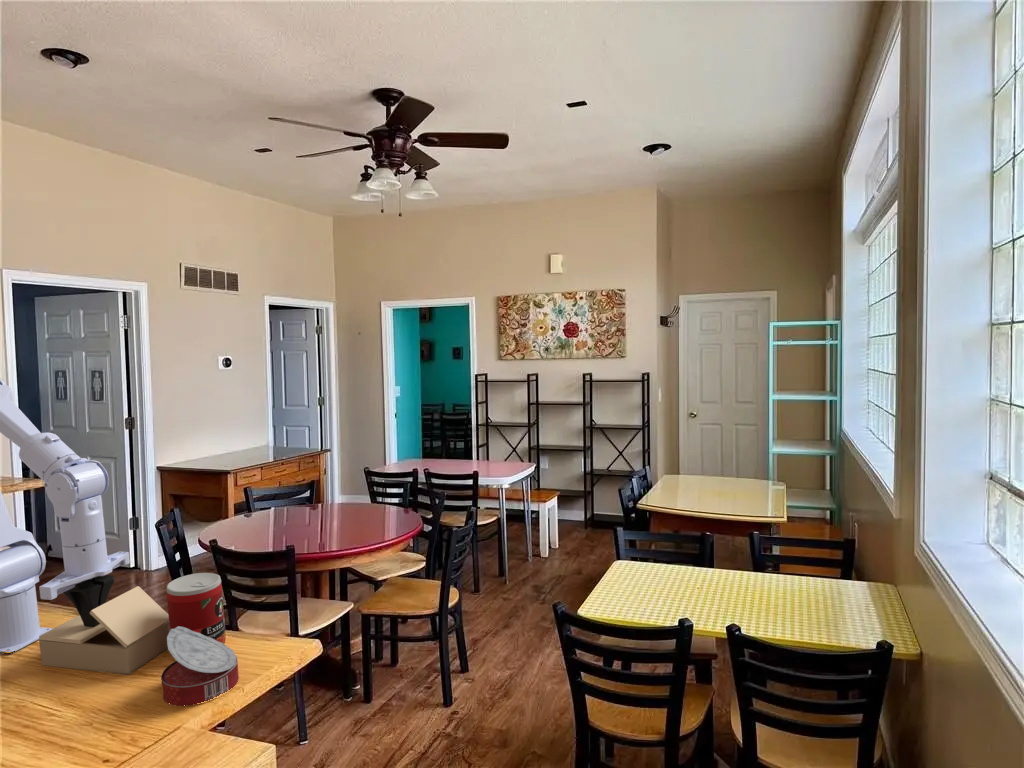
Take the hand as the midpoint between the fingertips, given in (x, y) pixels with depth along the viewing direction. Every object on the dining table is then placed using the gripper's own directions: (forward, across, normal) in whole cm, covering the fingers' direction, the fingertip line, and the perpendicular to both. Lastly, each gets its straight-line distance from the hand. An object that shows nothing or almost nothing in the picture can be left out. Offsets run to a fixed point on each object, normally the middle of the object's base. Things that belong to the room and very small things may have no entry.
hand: (92, 624), depth 105 cm
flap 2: (-2, 0, -7) cm, 8 cm away
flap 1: (+1, 0, +2) cm, 2 cm away
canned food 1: (+5, +4, -16) cm, 17 cm away
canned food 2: (+5, -5, -24) cm, 25 cm away
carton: (+5, 0, -2) cm, 5 cm away
